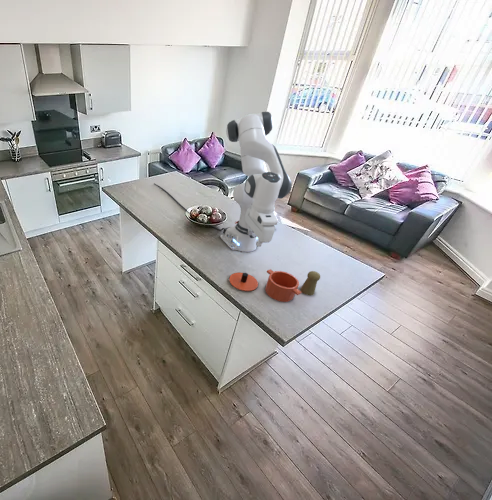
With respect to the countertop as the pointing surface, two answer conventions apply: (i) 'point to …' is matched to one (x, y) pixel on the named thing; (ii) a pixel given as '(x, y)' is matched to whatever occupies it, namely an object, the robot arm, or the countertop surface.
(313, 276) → the cork
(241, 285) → the pot lid
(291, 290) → the pot
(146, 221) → the countertop surface
